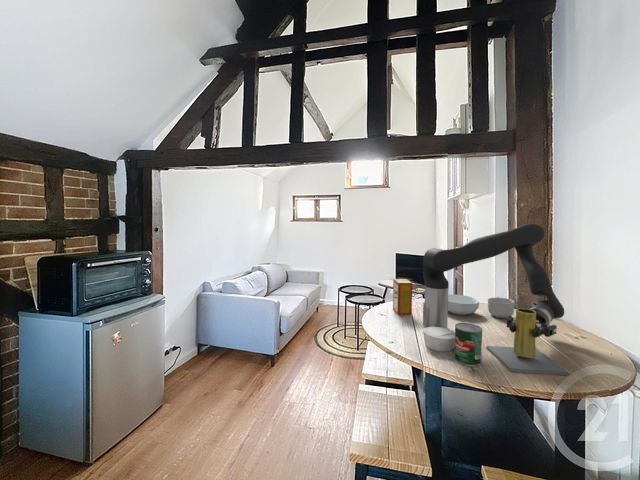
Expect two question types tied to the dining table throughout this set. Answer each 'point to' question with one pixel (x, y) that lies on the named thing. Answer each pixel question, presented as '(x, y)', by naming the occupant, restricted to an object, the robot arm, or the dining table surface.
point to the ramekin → (439, 338)
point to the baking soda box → (402, 296)
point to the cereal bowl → (462, 304)
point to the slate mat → (526, 361)
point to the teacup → (501, 307)
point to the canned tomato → (468, 344)
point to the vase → (525, 333)
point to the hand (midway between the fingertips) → (523, 331)
